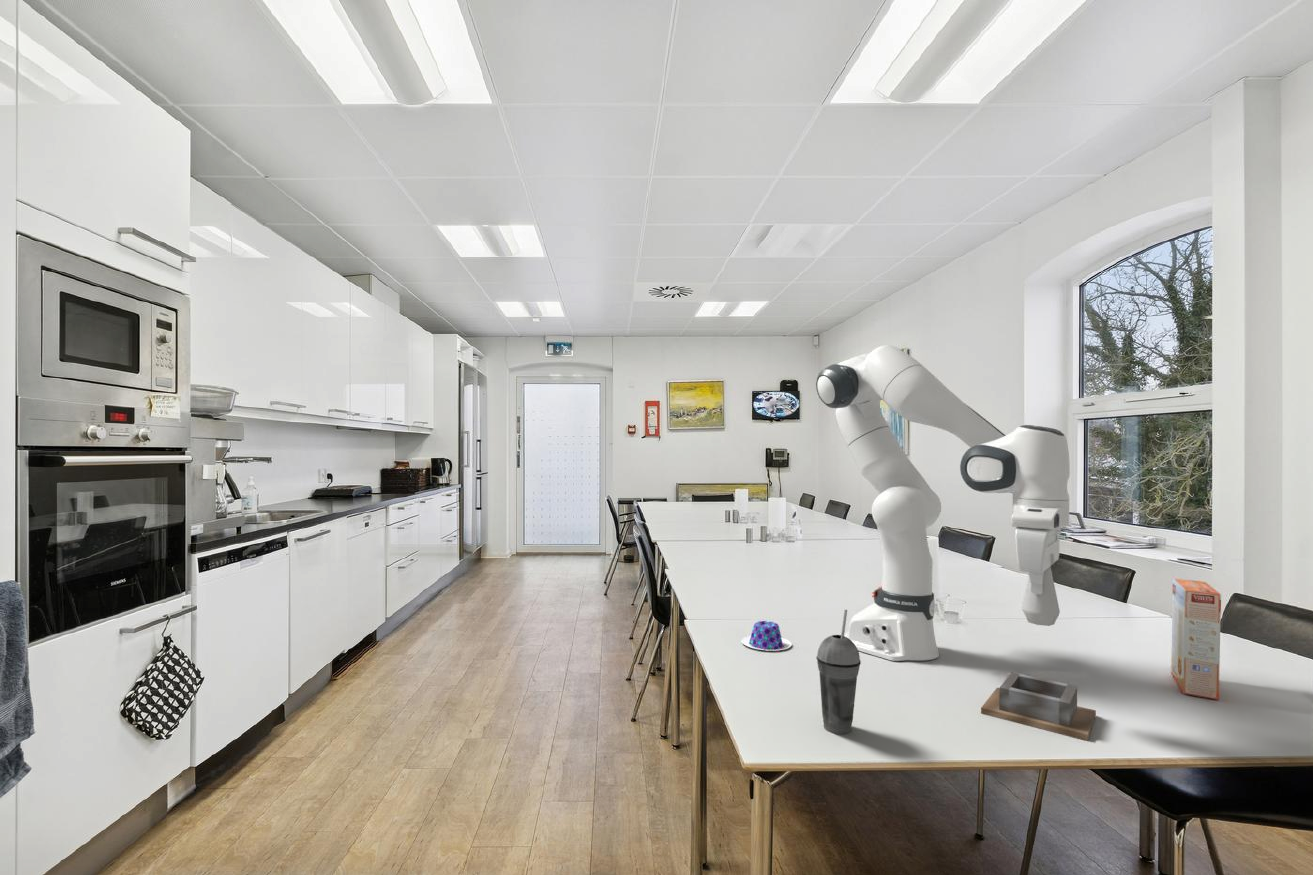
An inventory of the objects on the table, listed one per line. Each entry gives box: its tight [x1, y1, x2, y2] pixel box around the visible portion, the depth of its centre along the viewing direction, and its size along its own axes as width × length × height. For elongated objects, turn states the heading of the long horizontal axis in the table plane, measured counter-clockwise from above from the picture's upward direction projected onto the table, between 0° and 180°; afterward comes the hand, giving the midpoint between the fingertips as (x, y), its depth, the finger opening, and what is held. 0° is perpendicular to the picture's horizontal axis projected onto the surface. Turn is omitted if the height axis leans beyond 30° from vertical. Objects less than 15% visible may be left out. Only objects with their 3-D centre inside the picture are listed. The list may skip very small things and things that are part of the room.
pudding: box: [740, 620, 793, 652], centre depth 152 cm, size 12×12×5 cm
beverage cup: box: [815, 609, 862, 735], centre depth 107 cm, size 7×7×20 cm
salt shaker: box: [1021, 553, 1061, 627], centre depth 114 cm, size 6×6×13 cm
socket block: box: [980, 671, 1097, 742], centre depth 114 cm, size 16×13×5 cm
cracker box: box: [1170, 578, 1222, 701], centre depth 129 cm, size 14×6×21 cm, turn 148°
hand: (1039, 590), depth 114 cm, fingers closed on salt shaker, 4 cm apart
